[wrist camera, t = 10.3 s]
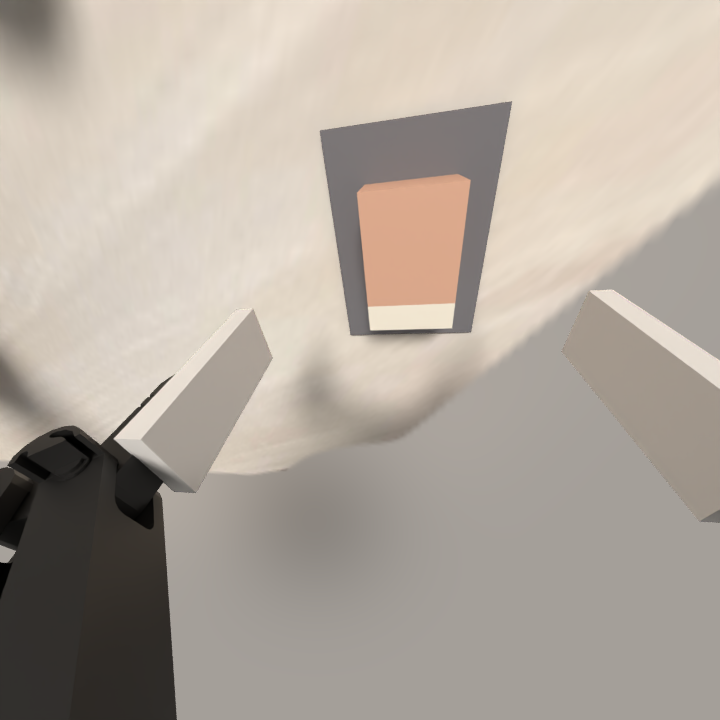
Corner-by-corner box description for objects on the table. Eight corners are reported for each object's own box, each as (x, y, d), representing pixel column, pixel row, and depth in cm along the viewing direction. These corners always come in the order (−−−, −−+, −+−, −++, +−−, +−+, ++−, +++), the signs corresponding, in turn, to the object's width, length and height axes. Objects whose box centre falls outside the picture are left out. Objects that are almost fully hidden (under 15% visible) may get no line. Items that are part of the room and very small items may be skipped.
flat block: (364, 184, 18) (356, 192, 15) (457, 174, 17) (470, 180, 14) (374, 306, 23) (370, 330, 20) (445, 303, 22) (452, 328, 19)
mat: (351, 332, 26) (350, 335, 26) (321, 130, 17) (319, 130, 16) (470, 329, 24) (470, 332, 24) (509, 102, 15) (512, 101, 15)
